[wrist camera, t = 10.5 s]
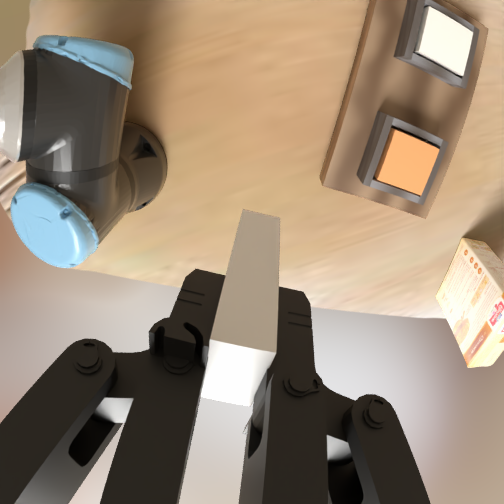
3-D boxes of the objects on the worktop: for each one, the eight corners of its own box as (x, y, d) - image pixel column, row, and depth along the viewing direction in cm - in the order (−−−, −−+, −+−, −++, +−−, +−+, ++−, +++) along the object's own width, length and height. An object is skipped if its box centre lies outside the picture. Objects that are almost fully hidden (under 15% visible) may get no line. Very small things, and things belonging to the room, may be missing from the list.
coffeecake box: (458, 298, 56) (492, 366, 40) (433, 296, 56) (466, 369, 40) (485, 240, 48) (535, 305, 32) (461, 236, 48) (511, 304, 32)
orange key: (371, 172, 39) (377, 179, 36) (387, 125, 35) (395, 129, 32) (413, 187, 39) (421, 195, 36) (430, 143, 35) (439, 149, 33)
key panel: (319, 176, 46) (326, 197, 39) (375, -23, 27) (392, -38, 20) (416, 208, 46) (435, 231, 40) (474, 29, 28) (503, 28, 21)
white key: (409, 52, 29) (418, 51, 26) (419, 9, 25) (429, 6, 22) (452, 74, 29) (463, 75, 27) (462, 33, 25) (473, 32, 23)
